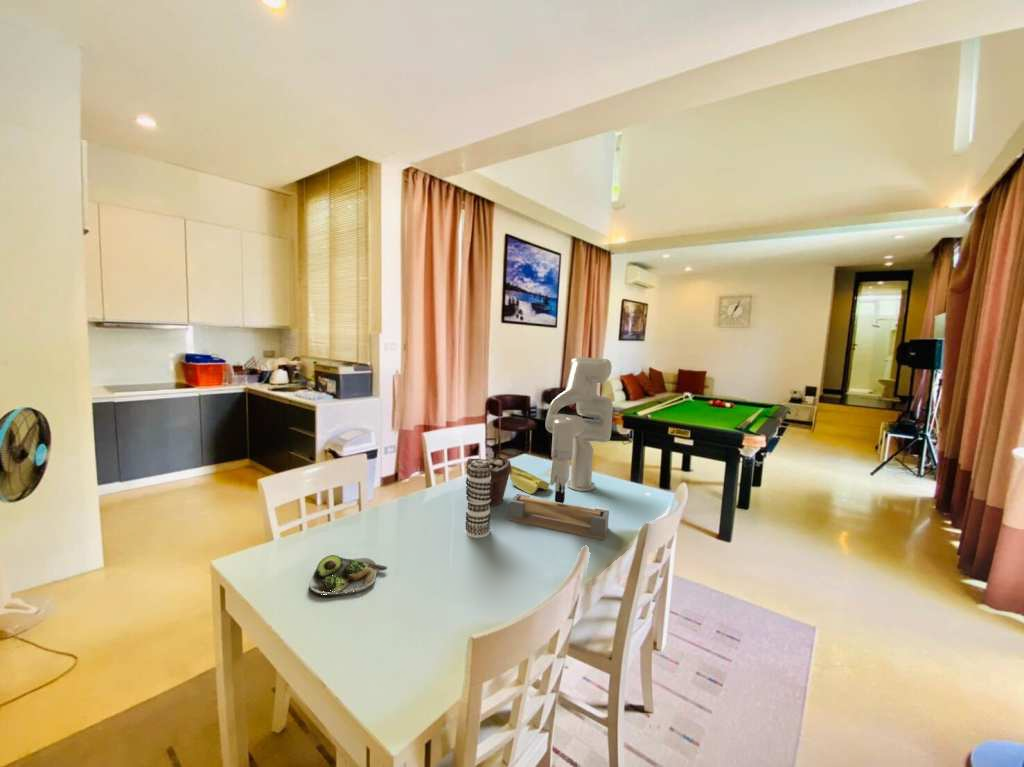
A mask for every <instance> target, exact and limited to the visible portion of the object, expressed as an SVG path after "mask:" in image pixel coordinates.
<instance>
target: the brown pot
mask: <svg viewBox="0 0 1024 767" xmlns="http://www.w3.org/2000/svg"><path fill="white" fill-rule="evenodd" d="M475 460H485V461H487V462H488V463H489V464H490V465H491V466H492V468H491V481H492V482H493V484H492V485H491V486H492V487H493V488H492V489H491V490H490V491H491V492H492V494H491V497H492V498H491V501H490V504H489V507H493V506H497V505H500V504H502V503H503V501H504V496H505V492H506V488H507V486H508V485H507V484H508V480H509V477H510V473H511V469H512V468H511V465H512V464H511V461H510V460H509V459H508V458H503V457H498V458H490V459H484V458H483V459H482V458H471V457H470V458H468V459H467V462H466V467H465V468H466V476H467V477H468V474H469V467H468V465H470V464H471V463H472V462H473V461H475Z"/></svg>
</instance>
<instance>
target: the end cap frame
mask: <svg viewBox="0 0 1024 767" xmlns="http://www.w3.org/2000/svg"><path fill="white" fill-rule="evenodd" d="M521 496H525V497H530V498H531V496H530V495H526V494H520V493H517V494H516V495H514V497H513V498H512V499H511V500H510V501H509V517H508V521H509V522H515V523H519V524H525V525H530V526H533V527H538V528H543V529H548V530H553V531H557V532H561V533H562V532H563V533H565V534H566V533H567V534H572V535H576V536H581V537H586V538H591V539H596V540H600V541H605V538H606V535H607V532H608V530H609V516H610V515H609V514H610V510H607V509H602V508H594V509H595V510H600V511H601V516H595V515H592V516H591V526H588V525H583V524H578V523H573V522H568V521H563V520H559V519H554V518H549V517H544V516H539V515H534V514H529V513H524V503H525V502H522V501H519V498H520V497H521Z"/></svg>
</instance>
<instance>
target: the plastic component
mask: <svg viewBox="0 0 1024 767" xmlns="http://www.w3.org/2000/svg"><path fill="white" fill-rule="evenodd" d="M511 468H512V469H511V473H510V474H509V477H510V481H511V482H512V484H513V485H514V486H515V487H516V488H518V489H520V490H521V491H523V492H525V493H526V494H529V495H533V494H535V493H536V492H537V490H538V489H539V488H540V489H542V490H545V491H547V490H549V487H550V486H551V485H550V482H547V481H545V480H543V479H542V478H539V477H538V476H536V475H533V474H532V473H529V472H528V471H525V470H523V469H521V468H519V467H517V466H514V465H512V464H511Z"/></svg>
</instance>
